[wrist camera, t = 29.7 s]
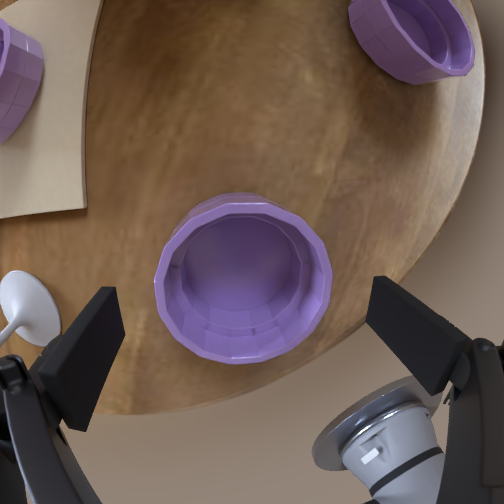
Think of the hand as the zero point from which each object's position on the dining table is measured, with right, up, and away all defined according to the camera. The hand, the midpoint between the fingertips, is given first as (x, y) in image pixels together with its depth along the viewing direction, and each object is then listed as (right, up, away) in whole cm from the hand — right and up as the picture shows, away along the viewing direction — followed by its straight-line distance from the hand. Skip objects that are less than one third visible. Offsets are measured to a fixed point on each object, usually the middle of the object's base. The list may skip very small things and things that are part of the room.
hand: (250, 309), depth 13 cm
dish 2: (-1, +2, +5) cm, 6 cm away
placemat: (-19, +15, -2) cm, 24 cm away
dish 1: (-18, +15, -2) cm, 24 cm away
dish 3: (+11, +20, +1) cm, 23 cm away
